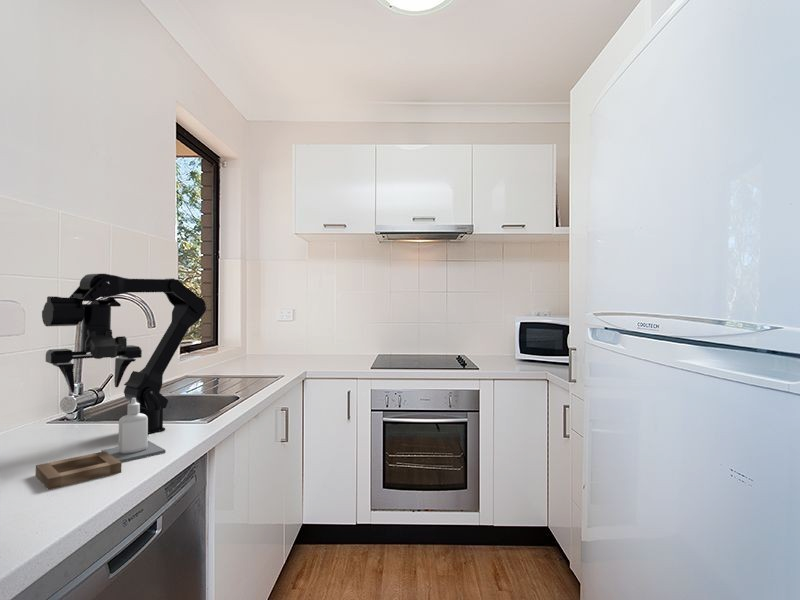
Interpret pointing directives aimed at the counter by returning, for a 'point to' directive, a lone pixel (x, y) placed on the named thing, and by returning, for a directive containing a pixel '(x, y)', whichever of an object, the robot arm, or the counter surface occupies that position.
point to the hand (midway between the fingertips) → (95, 389)
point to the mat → (149, 451)
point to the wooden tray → (77, 469)
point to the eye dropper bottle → (133, 430)
